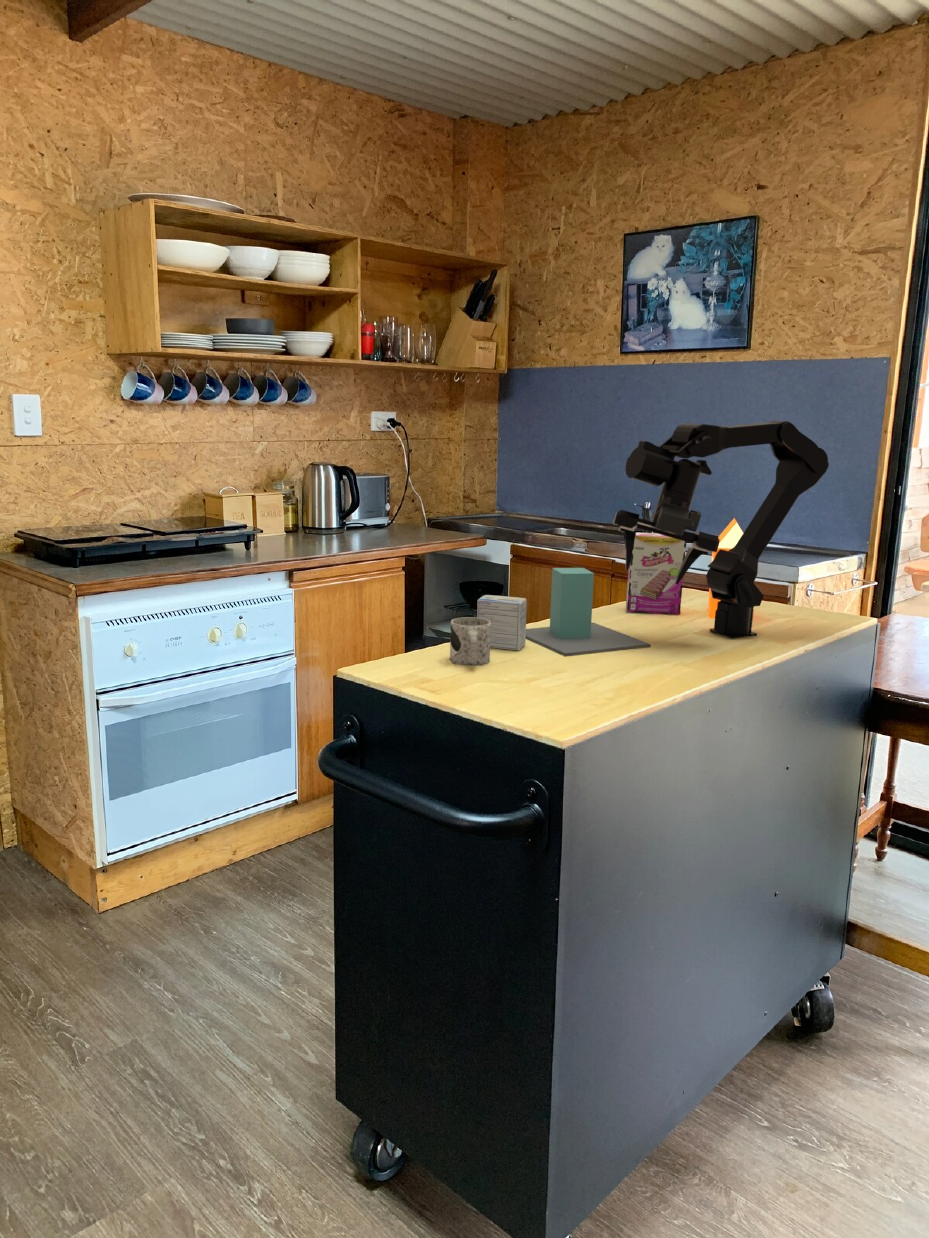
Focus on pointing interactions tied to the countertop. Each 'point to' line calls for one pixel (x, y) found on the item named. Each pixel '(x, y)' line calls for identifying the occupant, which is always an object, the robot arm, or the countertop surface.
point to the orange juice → (726, 543)
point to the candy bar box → (655, 574)
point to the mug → (470, 641)
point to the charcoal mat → (585, 641)
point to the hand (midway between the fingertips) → (651, 577)
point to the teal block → (571, 603)
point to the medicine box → (504, 620)
